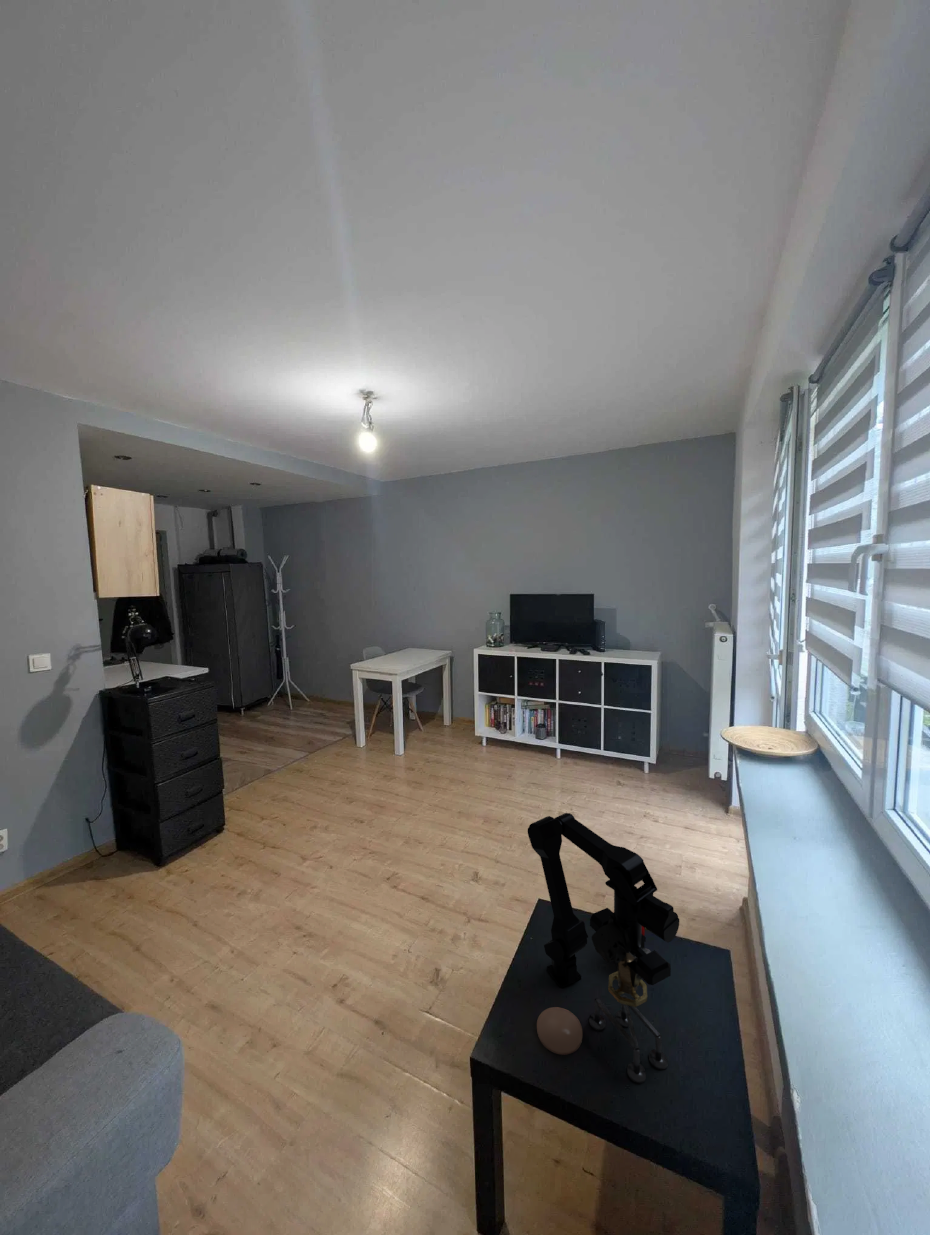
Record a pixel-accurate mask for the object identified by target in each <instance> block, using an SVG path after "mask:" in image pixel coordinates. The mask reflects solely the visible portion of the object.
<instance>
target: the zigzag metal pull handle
mask: <svg viewBox="0 0 930 1235" xmlns="http://www.w3.org/2000/svg"><path fill="white" fill-rule="evenodd" d="M620 996H621V997H624V998H628V996H627V995H625V994H622V995H620ZM630 1010H631V1011H632V1012H633V1014H634V1015H636V1017H637V1018H638V1019H639V1020H640V1021H641V1023H642V1024H643V1025H644V1026H645V1027H646V1028H647V1030H649V1032H650V1033H651V1034H652V1035H653V1036H654V1037H655V1044H654V1045H655V1046H654V1047H655V1048H654V1049H651V1050H650V1051H649V1053H648V1059H649V1060H648V1061H649V1063H650V1065H652V1067H654V1068H655V1069H657V1070H660V1071H662V1070H665V1069H667V1068H668V1062H669V1060H668V1058H667V1056H666V1054H665V1052H663V1051H662V1049H663V1048H662V1047H663V1046H662V1043H663V1042H662V1040H663V1039H662V1035H661V1033H660V1032H659V1031H658V1030H657V1029H656V1027H654V1025H653V1024H652V1023H651V1022H650V1020H648V1019H647V1017H646V1016H644V1015H643V1013H642V1012H641V1011H640V1010H639V1009H638V1008H637V1007H632V1006H629V1005H625V1004H622V1003H620V1009H619V1010H617V1011H616V1012H615V1016H614V1015H613V1014H612V1013H611V1011H609V1009H608V1008H607V1007H606V1005H605V1004H604V1002H602V1001H601V999H600V998H597V997H596V998H595V999H594V1012H593V1013H591V1014H590V1015H589V1017H588V1021H589V1022H588V1023H589V1027H591V1028H592V1029H593V1030H595V1031H603V1030H604V1029H605V1028H606V1025H607V1024H606V1022H607V1021H606V1019H605V1017H604V1016H603V1015H602V1014H601V1012H602V1013H603V1014H604V1015H605V1016H606V1017H607V1019H608V1020H609V1022H611V1023H612V1025H613V1026H614V1027H615V1029H616V1030H617V1031H618V1032H619V1033H620V1035H621V1036H622V1037H623V1039H625V1041H626V1042H627V1043H628V1045H629V1046H630V1047H631V1049H632V1050H633V1061H630V1062H629V1063H628V1064H627V1067H626V1068H627V1069H626V1071H627V1072H626V1073H627V1076H628V1077H629V1079H630V1080H631V1081H633V1082H634V1083H636V1084H643V1083H645V1081H646V1079H647V1071H646V1070H645V1067H644V1066H643V1064H641V1063H640V1062H641V1049H640V1046H639V1043H638V1038H637V1035H636V1034H637V1033H636V1031H635V1028H634V1022H633V1017H632V1015H631V1012H630ZM623 1027H624V1028H623ZM625 1028H628V1029H629V1033H630V1035H629V1033H628V1031H626V1030H625Z"/></svg>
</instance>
